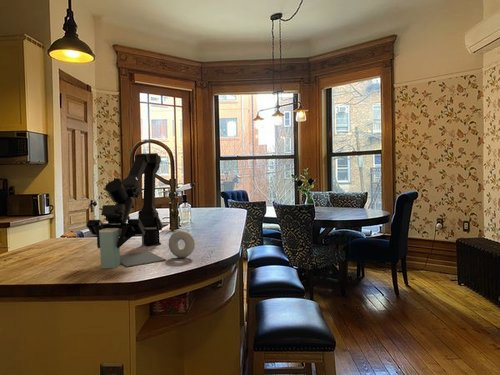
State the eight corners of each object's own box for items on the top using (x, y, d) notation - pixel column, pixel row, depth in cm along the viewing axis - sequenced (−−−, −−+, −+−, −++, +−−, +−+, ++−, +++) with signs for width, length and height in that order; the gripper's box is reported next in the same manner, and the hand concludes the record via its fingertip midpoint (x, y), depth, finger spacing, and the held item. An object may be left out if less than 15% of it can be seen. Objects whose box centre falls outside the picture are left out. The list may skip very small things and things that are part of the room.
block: (107, 264, 127) (106, 228, 126) (120, 264, 126) (118, 228, 125) (101, 268, 122) (99, 230, 121) (114, 268, 122) (112, 230, 121)
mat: (148, 252, 144) (148, 251, 144) (165, 260, 130) (165, 259, 130) (112, 257, 137) (112, 256, 137) (126, 267, 122) (126, 266, 122)
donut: (196, 257, 133) (195, 229, 133) (192, 259, 130) (191, 231, 130) (171, 256, 136) (170, 229, 136) (167, 258, 133) (166, 230, 132)
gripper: (87, 196, 128) (70, 233, 117) (139, 195, 126) (126, 233, 115) (100, 216, 136) (85, 252, 126) (149, 215, 134) (137, 252, 124)
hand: (107, 247), depth 122 cm, fingers open, 6 cm apart
